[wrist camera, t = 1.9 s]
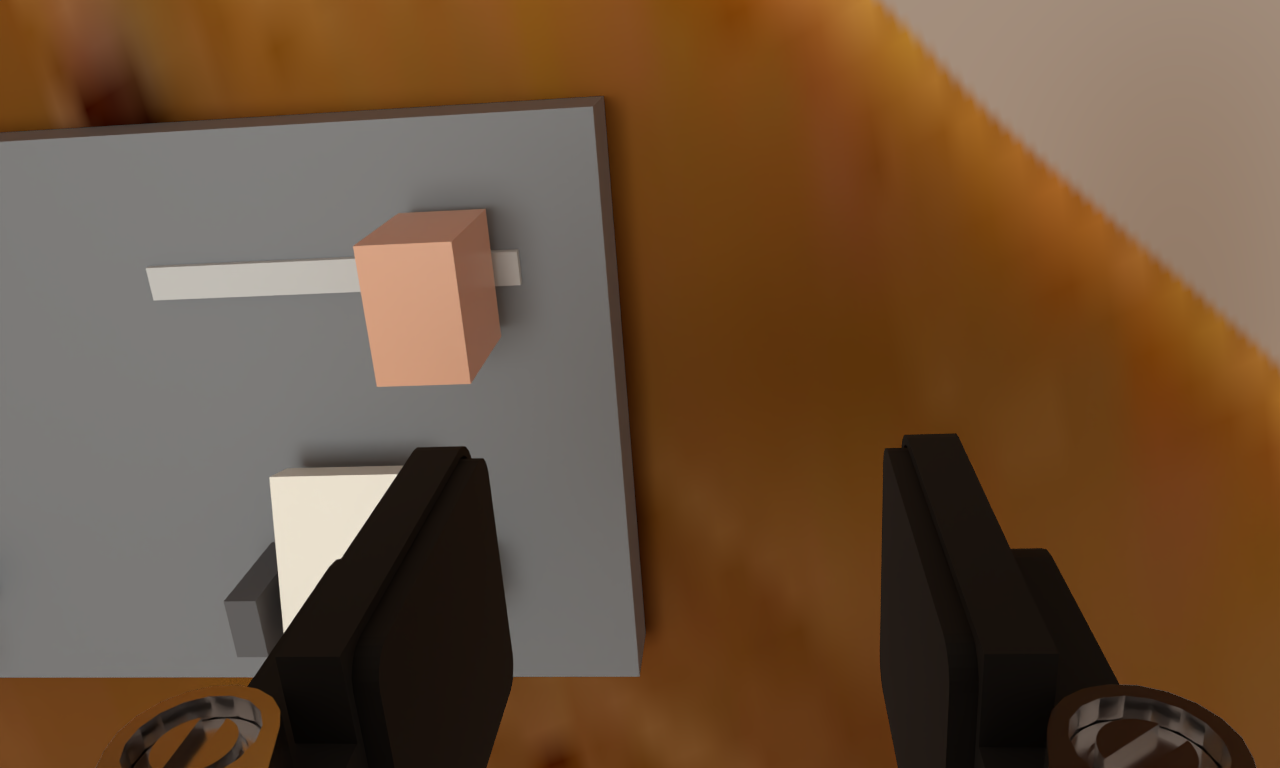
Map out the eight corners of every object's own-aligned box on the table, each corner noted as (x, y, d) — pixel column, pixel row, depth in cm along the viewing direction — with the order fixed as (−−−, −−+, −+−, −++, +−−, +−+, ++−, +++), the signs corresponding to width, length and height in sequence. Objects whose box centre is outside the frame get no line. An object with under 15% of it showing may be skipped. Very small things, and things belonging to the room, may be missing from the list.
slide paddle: (485, 208, 23) (451, 241, 21) (501, 336, 24) (470, 384, 22) (398, 213, 24) (352, 245, 21) (417, 339, 25) (376, 386, 22)
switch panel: (603, 95, 25) (573, 124, 20) (645, 633, 30) (629, 747, 26) (-346, 153, 27) (-555, 189, 23) (-150, 637, 33) (-289, 742, 28)
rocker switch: (427, 464, 26) (414, 474, 25) (447, 735, 27) (434, 756, 26) (287, 468, 26) (267, 477, 25) (311, 734, 27) (293, 755, 26)
